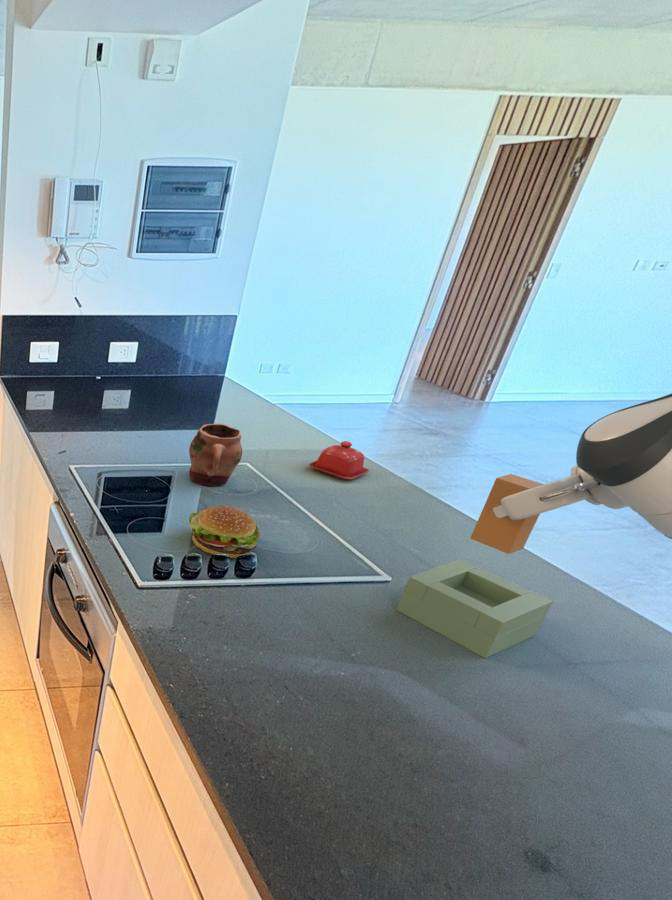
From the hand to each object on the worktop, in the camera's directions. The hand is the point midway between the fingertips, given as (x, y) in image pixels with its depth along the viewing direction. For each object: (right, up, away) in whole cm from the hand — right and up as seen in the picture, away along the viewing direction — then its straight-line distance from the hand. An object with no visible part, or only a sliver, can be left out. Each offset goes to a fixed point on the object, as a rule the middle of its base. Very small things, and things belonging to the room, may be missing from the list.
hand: (507, 509), depth 98 cm
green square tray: (-1, -19, +7) cm, 20 cm away
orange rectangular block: (0, -6, +2) cm, 6 cm away
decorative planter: (-23, +7, +59) cm, 63 cm away
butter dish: (+13, +10, +65) cm, 67 cm away
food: (-33, -8, +30) cm, 45 cm away
